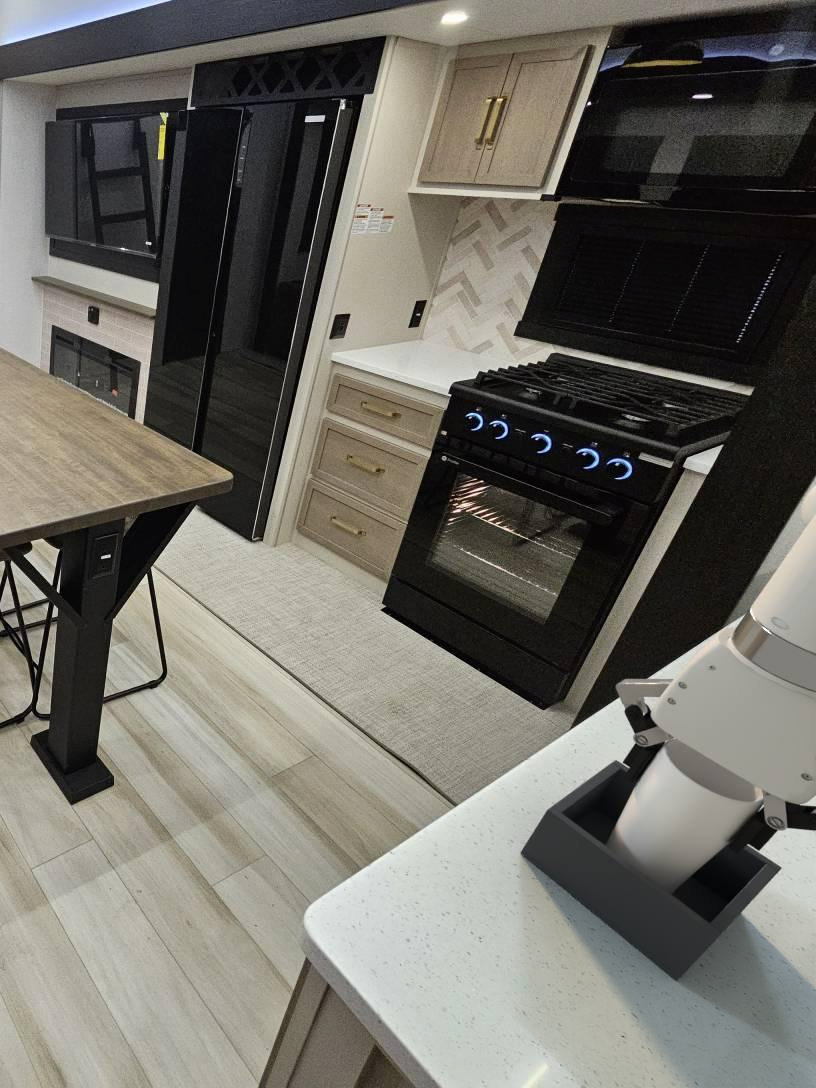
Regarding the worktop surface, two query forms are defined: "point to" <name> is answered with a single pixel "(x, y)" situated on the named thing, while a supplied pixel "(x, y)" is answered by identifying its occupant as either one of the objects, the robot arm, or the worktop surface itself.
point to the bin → (641, 877)
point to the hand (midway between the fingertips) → (685, 807)
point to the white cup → (681, 815)
